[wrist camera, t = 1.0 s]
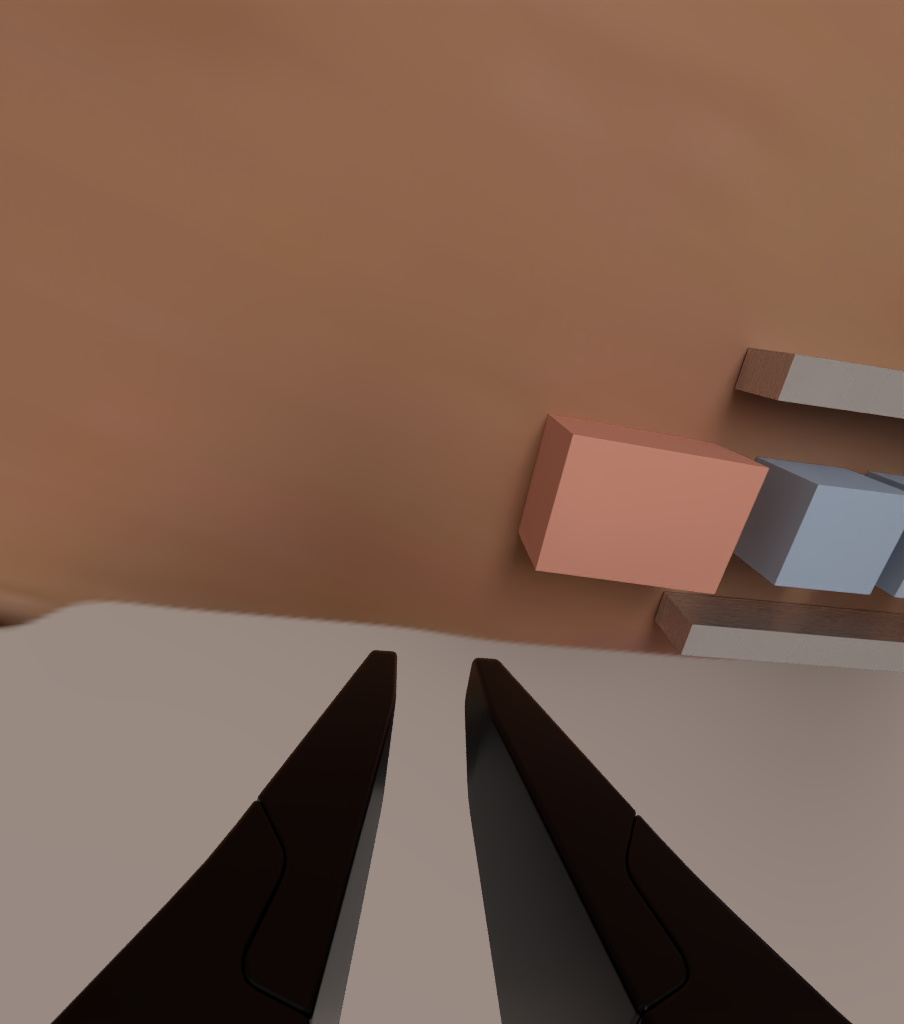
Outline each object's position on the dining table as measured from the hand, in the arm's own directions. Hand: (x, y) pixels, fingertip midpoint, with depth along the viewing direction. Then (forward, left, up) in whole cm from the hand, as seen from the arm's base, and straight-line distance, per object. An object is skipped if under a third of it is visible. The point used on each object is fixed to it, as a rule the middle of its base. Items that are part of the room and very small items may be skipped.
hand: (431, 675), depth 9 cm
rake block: (-7, +3, -12) cm, 15 cm away
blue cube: (-14, +6, -12) cm, 20 cm away
